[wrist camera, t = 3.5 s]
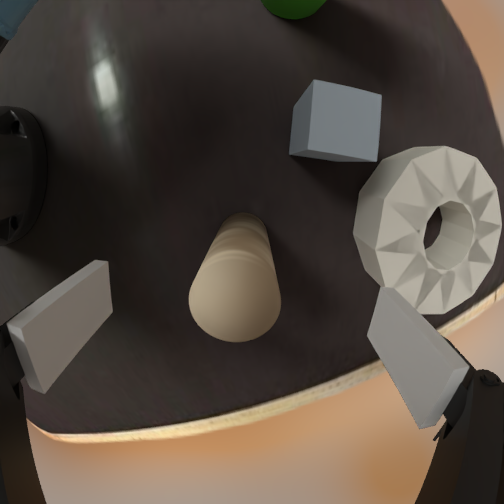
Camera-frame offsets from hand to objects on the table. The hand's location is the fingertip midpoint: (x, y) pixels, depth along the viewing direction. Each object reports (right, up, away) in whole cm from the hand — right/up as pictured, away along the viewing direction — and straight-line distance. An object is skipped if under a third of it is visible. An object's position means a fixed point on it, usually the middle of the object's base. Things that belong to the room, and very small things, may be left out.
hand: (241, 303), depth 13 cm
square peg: (+6, +12, +8) cm, 15 cm away
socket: (+16, +5, +10) cm, 20 cm away
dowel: (0, +4, +11) cm, 11 cm away
